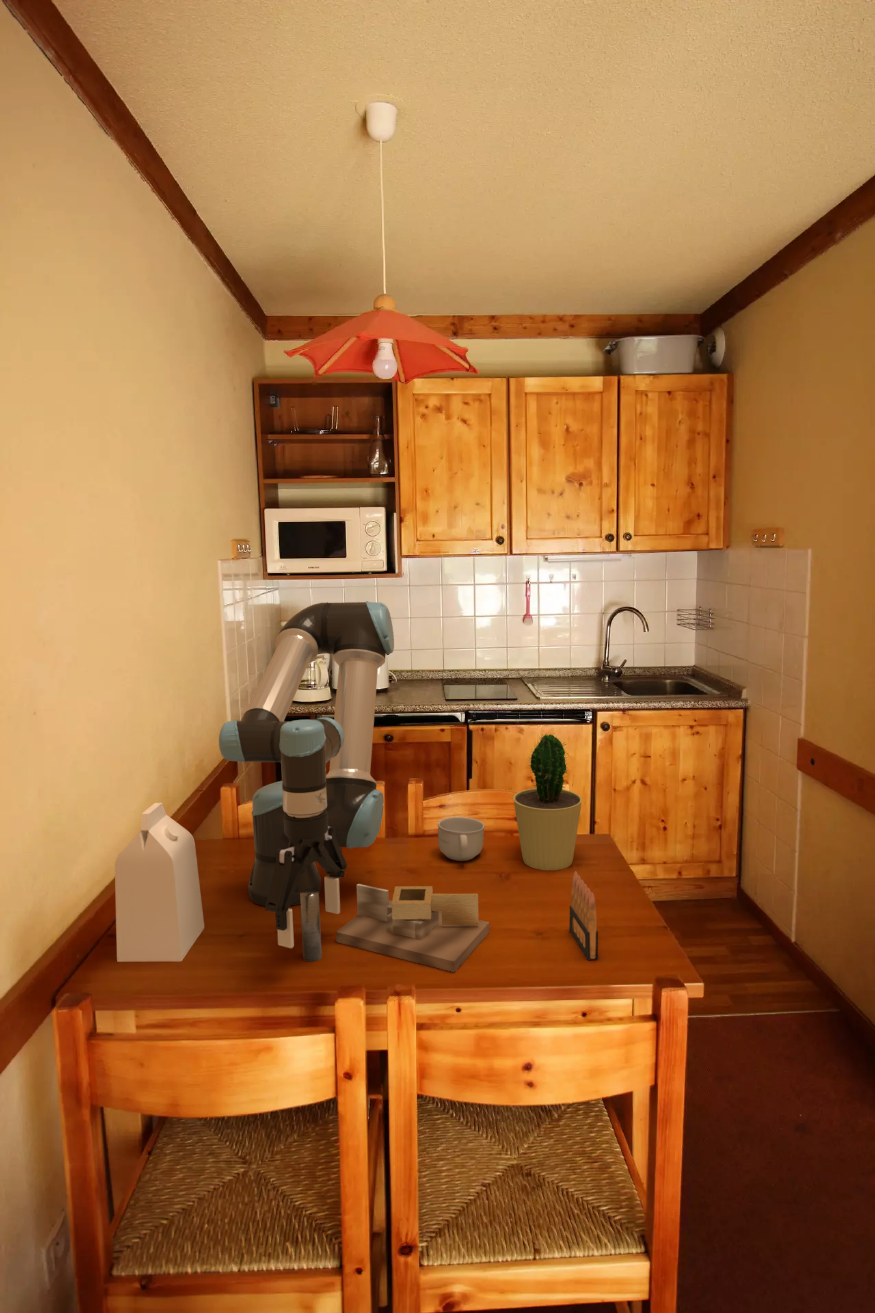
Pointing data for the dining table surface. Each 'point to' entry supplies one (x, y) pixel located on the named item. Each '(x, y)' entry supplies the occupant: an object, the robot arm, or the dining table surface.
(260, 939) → the dining table surface
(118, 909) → the milk
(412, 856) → the dining table surface
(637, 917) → the dining table surface
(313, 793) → the robot arm
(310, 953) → the hinge pin
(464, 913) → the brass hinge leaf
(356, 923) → the hinge base
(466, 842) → the teacup
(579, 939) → the ammunition clip
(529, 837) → the potted cactus
